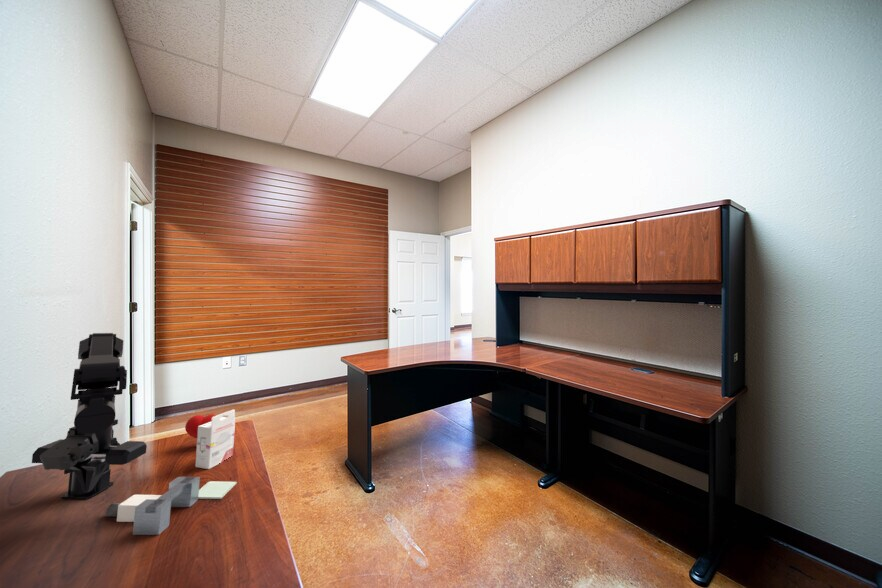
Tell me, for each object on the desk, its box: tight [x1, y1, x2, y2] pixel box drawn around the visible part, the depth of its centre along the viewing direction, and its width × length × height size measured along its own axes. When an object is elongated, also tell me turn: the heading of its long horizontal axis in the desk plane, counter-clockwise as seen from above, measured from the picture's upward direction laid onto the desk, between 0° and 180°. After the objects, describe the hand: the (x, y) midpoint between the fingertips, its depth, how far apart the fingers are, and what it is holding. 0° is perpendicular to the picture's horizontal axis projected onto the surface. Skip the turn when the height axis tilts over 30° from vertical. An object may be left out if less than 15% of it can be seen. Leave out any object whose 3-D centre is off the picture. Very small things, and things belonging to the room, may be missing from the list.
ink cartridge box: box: [195, 409, 236, 470], centre depth 97 cm, size 9×5×15 cm, turn 168°
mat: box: [198, 480, 238, 500], centre depth 82 cm, size 7×7×1 cm
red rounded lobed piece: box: [184, 414, 217, 446], centre depth 106 cm, size 9×7×10 cm
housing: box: [132, 476, 201, 536], centre depth 72 cm, size 5×12×5 cm, turn 4°
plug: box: [105, 494, 163, 523], centre depth 72 cm, size 9×4×3 cm, turn 94°
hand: (88, 491), depth 71 cm, fingers closed
